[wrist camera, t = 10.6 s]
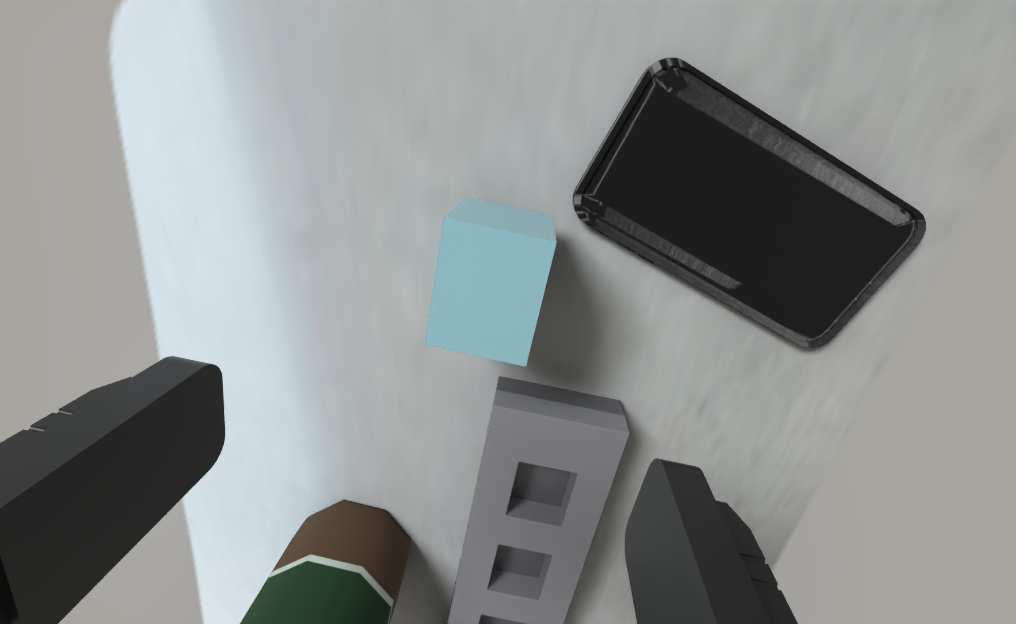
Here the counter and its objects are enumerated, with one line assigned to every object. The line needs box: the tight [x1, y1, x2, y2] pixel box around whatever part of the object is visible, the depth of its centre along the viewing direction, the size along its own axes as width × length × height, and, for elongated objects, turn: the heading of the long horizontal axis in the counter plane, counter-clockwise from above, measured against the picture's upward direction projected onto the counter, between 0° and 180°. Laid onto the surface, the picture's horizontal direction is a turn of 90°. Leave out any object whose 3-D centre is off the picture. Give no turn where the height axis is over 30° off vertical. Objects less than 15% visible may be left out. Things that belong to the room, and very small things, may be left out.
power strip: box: [447, 376, 630, 624], centre depth 29 cm, size 22×7×4 cm, turn 169°
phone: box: [573, 58, 926, 348], centre depth 22 cm, size 8×1×15 cm
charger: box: [425, 197, 557, 367], centre depth 20 cm, size 5×4×7 cm
